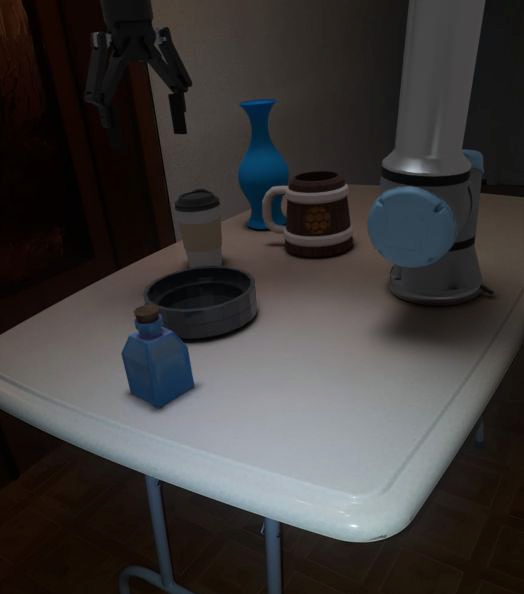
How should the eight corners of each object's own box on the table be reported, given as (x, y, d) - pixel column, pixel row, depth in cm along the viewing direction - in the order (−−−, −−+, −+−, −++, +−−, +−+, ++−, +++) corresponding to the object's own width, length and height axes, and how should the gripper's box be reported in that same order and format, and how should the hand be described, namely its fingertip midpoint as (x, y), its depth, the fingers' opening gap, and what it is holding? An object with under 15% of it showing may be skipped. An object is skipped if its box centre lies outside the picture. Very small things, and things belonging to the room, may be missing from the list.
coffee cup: (220, 273, 112) (211, 198, 104) (178, 273, 114) (165, 199, 106) (231, 257, 119) (223, 186, 112) (191, 257, 121) (181, 187, 114)
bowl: (279, 305, 96) (277, 275, 93) (209, 353, 83) (204, 320, 81) (199, 287, 106) (194, 260, 103) (126, 327, 93) (119, 297, 91)
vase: (299, 218, 140) (293, 96, 126) (280, 233, 130) (271, 104, 117) (256, 216, 145) (245, 99, 131) (234, 231, 135) (220, 106, 121)
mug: (360, 236, 124) (360, 167, 116) (345, 261, 112) (344, 185, 104) (276, 233, 130) (271, 168, 123) (253, 256, 118) (246, 185, 111)
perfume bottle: (130, 392, 76) (111, 313, 70) (166, 372, 79) (150, 295, 74) (158, 408, 72) (140, 325, 66) (194, 386, 76) (180, 306, 70)
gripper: (171, -6, 94) (190, 127, 104) (36, -2, 78) (74, 154, 89) (201, -12, 90) (218, 128, 100) (64, -9, 74) (101, 156, 84)
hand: (150, 141), depth 94 cm, fingers open, 13 cm apart
